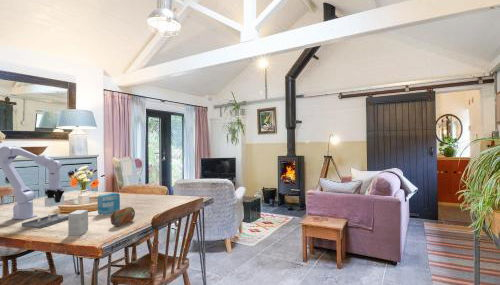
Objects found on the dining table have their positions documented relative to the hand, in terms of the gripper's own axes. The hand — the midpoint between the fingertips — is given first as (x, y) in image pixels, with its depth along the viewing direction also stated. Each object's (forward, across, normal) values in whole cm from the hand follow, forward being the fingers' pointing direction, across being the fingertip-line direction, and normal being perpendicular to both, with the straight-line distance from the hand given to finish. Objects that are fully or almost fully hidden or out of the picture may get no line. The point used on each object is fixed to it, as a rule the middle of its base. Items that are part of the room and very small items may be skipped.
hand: (54, 202), depth 167 cm
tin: (+9, +53, -5) cm, 54 cm away
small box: (+9, +42, -23) cm, 49 cm away
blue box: (+9, +28, +13) cm, 32 cm away
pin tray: (+8, +9, -11) cm, 17 cm away
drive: (+2, 0, 0) cm, 2 cm away
